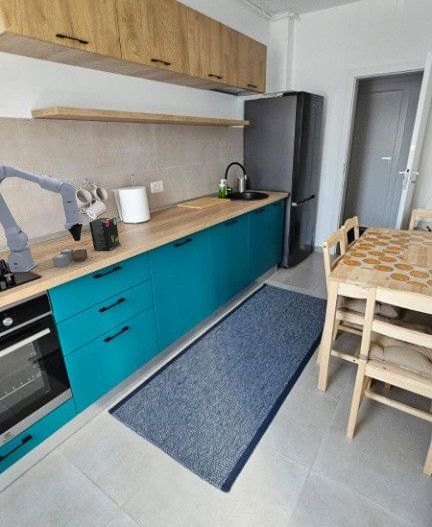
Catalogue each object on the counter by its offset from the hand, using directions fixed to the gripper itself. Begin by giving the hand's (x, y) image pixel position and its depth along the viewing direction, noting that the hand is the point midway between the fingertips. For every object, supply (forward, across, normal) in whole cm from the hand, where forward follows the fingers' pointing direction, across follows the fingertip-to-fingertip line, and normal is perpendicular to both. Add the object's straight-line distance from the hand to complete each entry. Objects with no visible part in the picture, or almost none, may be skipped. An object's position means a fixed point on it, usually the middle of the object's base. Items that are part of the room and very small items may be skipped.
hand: (77, 240), depth 141 cm
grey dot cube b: (+9, -6, +6) cm, 13 cm away
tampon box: (+10, +18, -6) cm, 21 cm away
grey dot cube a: (+9, +2, +7) cm, 12 cm away
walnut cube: (+9, 0, 0) cm, 9 cm away
